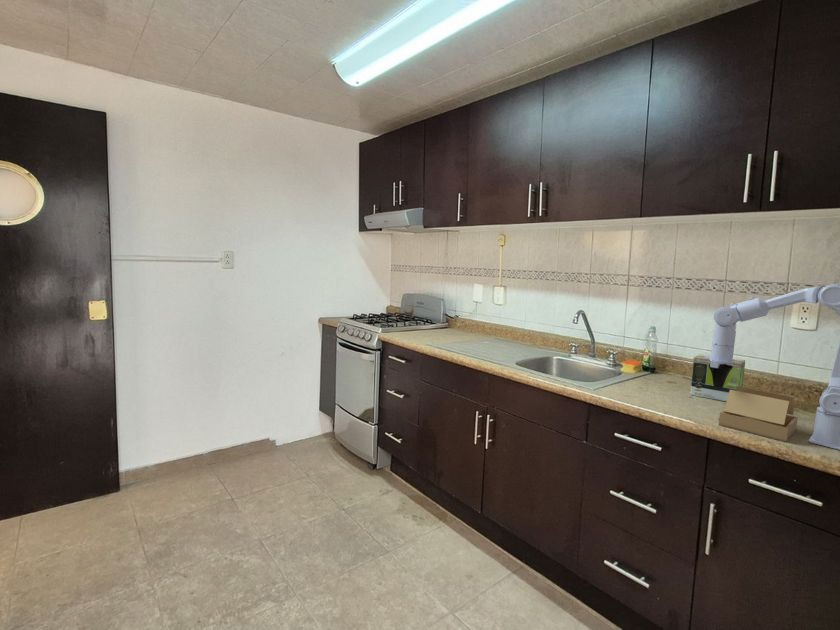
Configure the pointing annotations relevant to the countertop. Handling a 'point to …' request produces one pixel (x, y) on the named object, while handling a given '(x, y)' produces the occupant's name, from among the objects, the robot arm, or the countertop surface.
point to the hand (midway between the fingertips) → (718, 387)
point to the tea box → (704, 380)
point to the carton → (759, 426)
